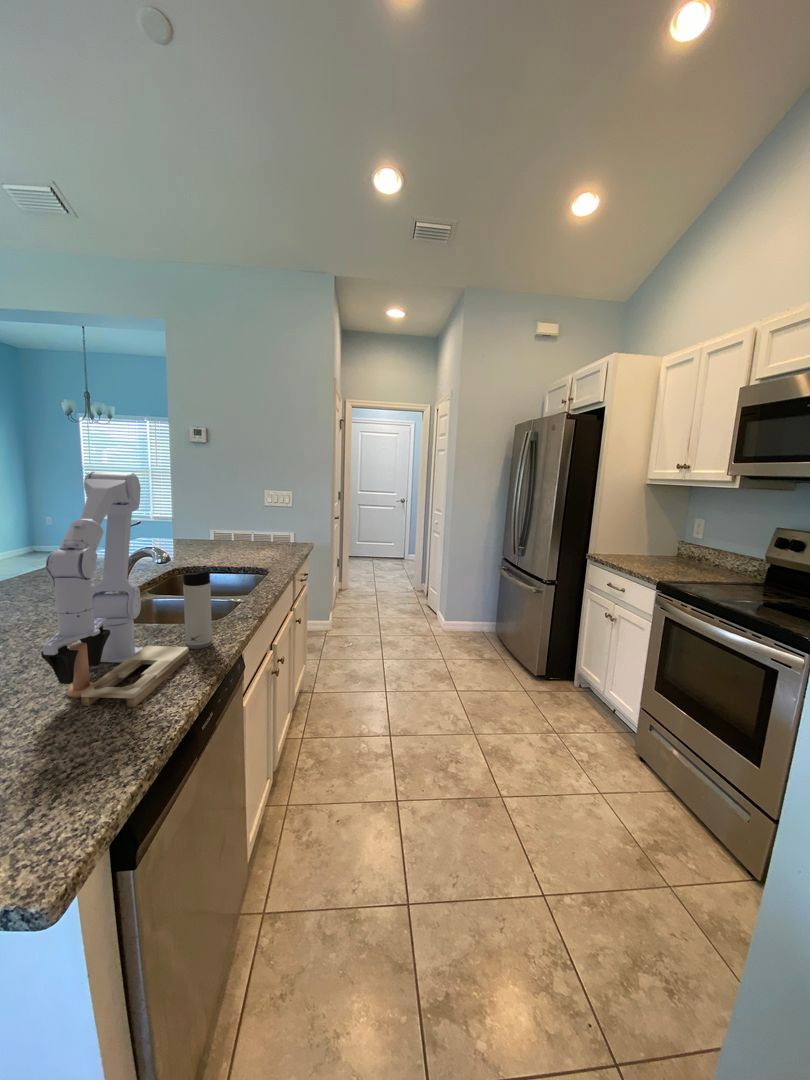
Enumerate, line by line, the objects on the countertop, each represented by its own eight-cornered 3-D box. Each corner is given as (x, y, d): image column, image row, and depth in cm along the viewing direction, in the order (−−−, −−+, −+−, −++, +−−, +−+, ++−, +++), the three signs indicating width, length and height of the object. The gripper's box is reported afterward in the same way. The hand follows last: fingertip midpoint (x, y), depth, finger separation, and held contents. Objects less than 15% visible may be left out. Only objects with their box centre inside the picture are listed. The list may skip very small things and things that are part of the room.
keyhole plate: (81, 705, 83) (80, 692, 82) (147, 656, 105) (146, 645, 104) (134, 707, 83) (133, 693, 83) (188, 658, 105) (188, 647, 104)
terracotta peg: (62, 697, 85) (58, 649, 84) (78, 686, 90) (75, 640, 88) (85, 697, 86) (81, 650, 84) (100, 686, 90) (96, 641, 88)
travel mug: (195, 651, 108) (192, 574, 105) (180, 645, 112) (177, 570, 109) (218, 644, 114) (215, 570, 110) (202, 638, 117) (200, 566, 114)
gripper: (68, 622, 78) (74, 692, 80) (119, 599, 92) (123, 658, 94) (28, 621, 78) (35, 691, 80) (85, 597, 92) (90, 657, 94)
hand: (80, 673), depth 87 cm, fingers open, 7 cm apart
